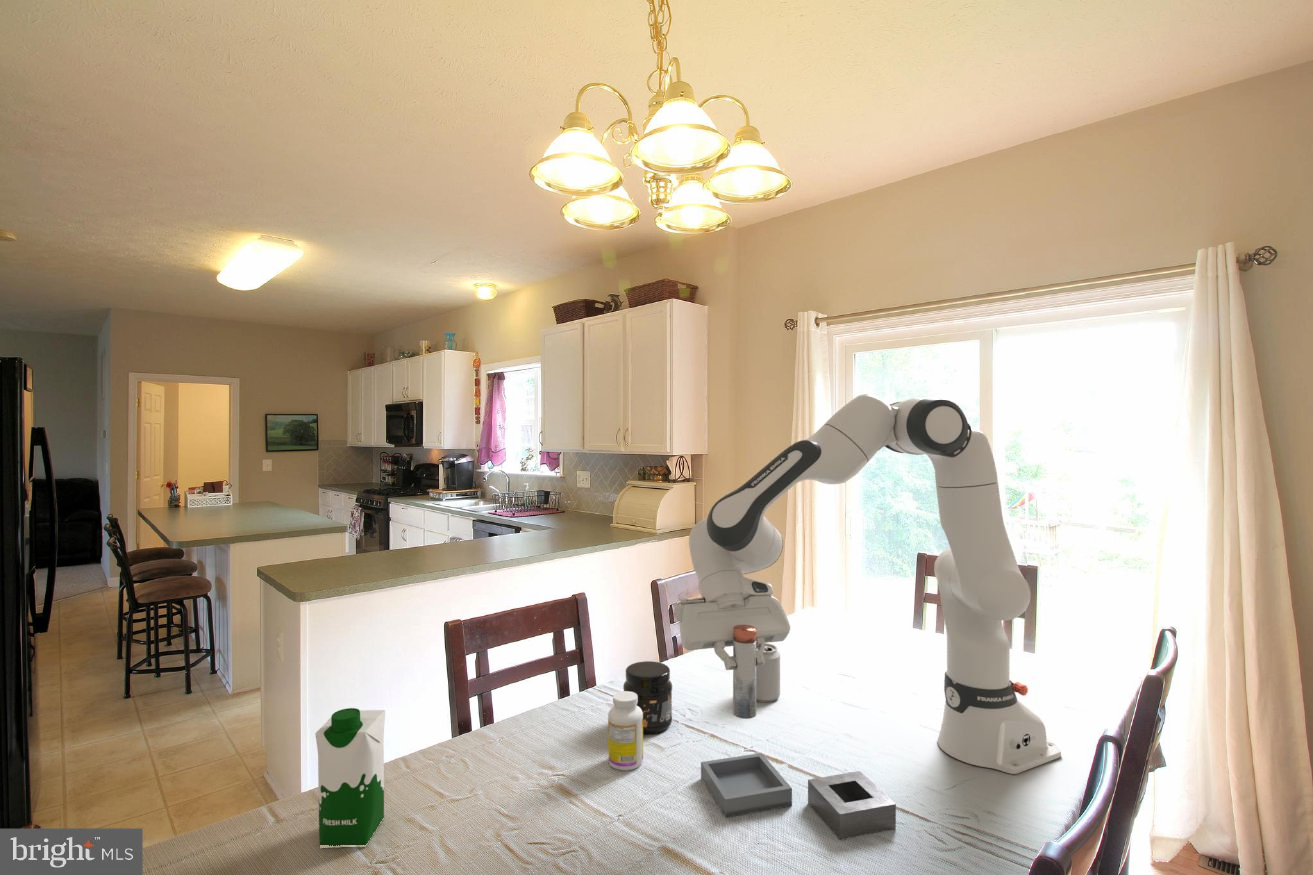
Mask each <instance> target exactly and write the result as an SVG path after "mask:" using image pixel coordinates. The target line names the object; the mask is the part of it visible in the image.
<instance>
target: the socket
mask: <svg viewBox="0 0 1313 875" xmlns="http://www.w3.org/2000/svg"><path fill="white" fill-rule="evenodd" d="M807 803H808V805H809V806H810V807H811V808H812V810H814V812H815V814H817V815H818V816H819V817H820V819H821V820H822V822H824V823H825V824H826V826H827V827H828V828H829V829H830V830H831V832H832V833H834V835H835V836H836V837H837V838H838V840H840V841H841V840H846V839H851V838H857V837H860V836H867V835H872V834H878V833H882V832H886V831H892V830H896V828H897V826H896V824H897V803H895V802H894V801H893V800H892V798H890V797H889V796H888V795H887V794H886V793H884V792H883V791H882V789H880V788H879V787H878V786H877V785H876V784H875V783H874V782H872V781H871V780H870V779H869V778H868V777H867V776H866V775H865V774H864V773H863V772H861V771H860V770H858V771H852V772H845V773H839V774H835V775H828V776H827V775H826V776H822V777H817V778H816V777H814V778H810V779H807Z"/></svg>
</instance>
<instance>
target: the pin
mask: <svg viewBox="0 0 1313 875" xmlns="http://www.w3.org/2000/svg"><path fill="white" fill-rule="evenodd" d="M732 652H733V654H732V656H734V658H735V662H736V668H735V669H734V670H732V673H733V674H732V714H733V716H734V717H736V718H739V719H742V720H743V719H745V720H749V719H753V718H755V717H756V716H757V701H756V627H754V626H751V625H737V626H734V627H733V646H732Z"/></svg>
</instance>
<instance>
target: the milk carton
mask: <svg viewBox="0 0 1313 875" xmlns="http://www.w3.org/2000/svg"><path fill="white" fill-rule="evenodd" d="M385 717H386V709H371V710H370V709H367V710H366V709H363V710H362V709H361V710H360V709H358V708H356V707H348V708H343V709H339V710H337V711H335V712H334V713H332V714H331V716H330V718H328V720H327V721H326V722H325V723H324V724H322V726H321V727H320V728H319V729H318V730H317V731H316V732H315V734H314V735H315V740H316V748H317V763H318V764H317V767H318V768H317V770H318V771H317V773H318V774H317V775H318V778H317V780H318V782H317V783H318V787H317V788H318V834H319V839H318V840H319V846H320V845H329V846H330V845H331V846H332V845H333V846H336V845H337V846H338V845H339V846H340V845H366V844H367V843H368V841H369V840H370V838H371V837H372V835H373V833H374V832H375V831H376V829H377V827H378V826H379V824H380V822H381V821H382V819H383V818H384V819H385V767H384V766H385V758H384V757H385V756H384V755H385V750H384V749H385V748H384V747H385V746H384V735H385V719H386V718H385ZM382 822H383V821H382ZM380 825H381V824H380ZM379 827H380V826H379ZM377 830H378V829H377ZM376 832H377V831H376ZM376 832H375V833H376ZM373 836H374V835H373ZM372 838H373V837H372ZM372 838H371V839H372ZM370 841H371V840H370ZM368 844H369V843H368Z"/></svg>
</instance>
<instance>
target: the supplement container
mask: <svg viewBox="0 0 1313 875" xmlns="http://www.w3.org/2000/svg"><path fill="white" fill-rule="evenodd" d="M670 678H671V669H670V667H669V666H668V665H667V664H665V663H662V662H660V661H659V662H658V661H650V660H647V661H645V660H644V661H638V662H634V663H632V664H629V665H628V666H627V667H626V668H625V681H624V683H623V686H622V687H623V691H630V692H634V693H636V694H637V696H638V702H637V706H638V707H640V709H641V710H642V712H643V735H653V734H658V733H661V732H662V733H663V731H666V730H667V729H668V728H669V727H671V725H672V722H673V716H672V715H673V711H672V710H673V709H672V708H673V706H672V705H673V698H672V696H673V694H672V691H673V683H672V681H671V680H670Z"/></svg>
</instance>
